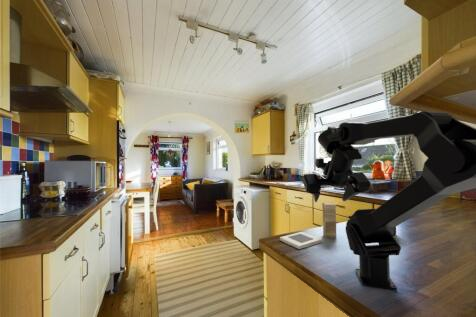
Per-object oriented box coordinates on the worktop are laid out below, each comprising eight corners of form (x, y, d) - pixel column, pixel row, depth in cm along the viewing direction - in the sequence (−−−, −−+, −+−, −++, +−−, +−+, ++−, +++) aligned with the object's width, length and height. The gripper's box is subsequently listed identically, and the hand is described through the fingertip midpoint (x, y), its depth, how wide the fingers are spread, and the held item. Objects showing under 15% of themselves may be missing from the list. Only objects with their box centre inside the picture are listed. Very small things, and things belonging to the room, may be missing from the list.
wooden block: (336, 238, 72) (335, 204, 72) (326, 238, 72) (325, 204, 73) (333, 235, 75) (332, 202, 76) (323, 234, 76) (322, 202, 76)
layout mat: (302, 234, 77) (302, 231, 77) (322, 242, 69) (322, 238, 69) (279, 240, 71) (279, 236, 71) (299, 249, 64) (299, 245, 64)
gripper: (360, 146, 64) (347, 183, 74) (301, 149, 65) (295, 184, 74) (380, 169, 55) (362, 207, 65) (311, 171, 56) (303, 208, 65)
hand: (329, 200), depth 68 cm, fingers open, 9 cm apart
